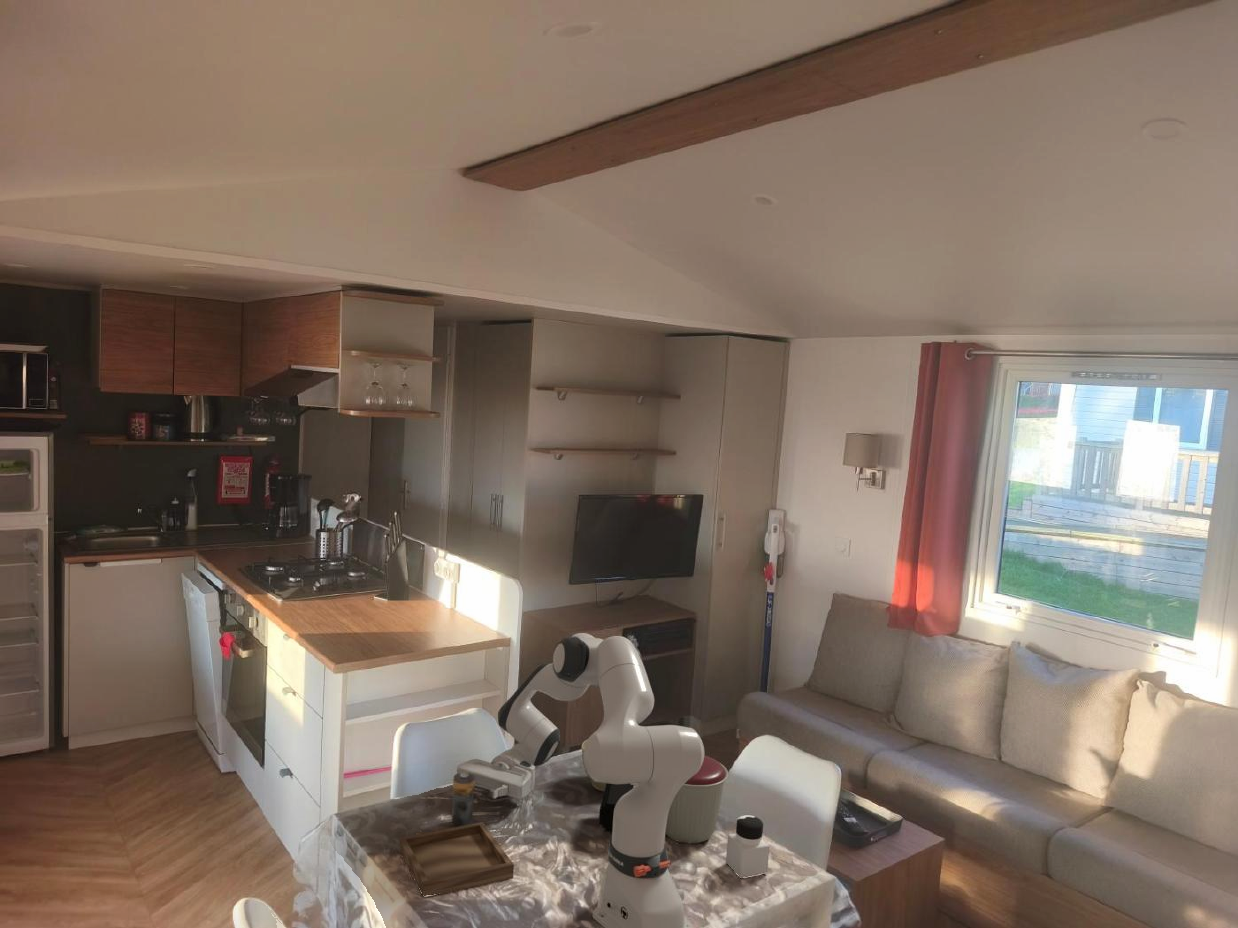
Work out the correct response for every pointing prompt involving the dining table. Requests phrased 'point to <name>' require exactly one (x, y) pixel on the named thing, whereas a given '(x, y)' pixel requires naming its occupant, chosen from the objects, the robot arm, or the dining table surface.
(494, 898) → the dining table surface
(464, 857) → the tray
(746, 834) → the medicine bottle
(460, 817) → the cell
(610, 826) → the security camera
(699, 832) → the canister
